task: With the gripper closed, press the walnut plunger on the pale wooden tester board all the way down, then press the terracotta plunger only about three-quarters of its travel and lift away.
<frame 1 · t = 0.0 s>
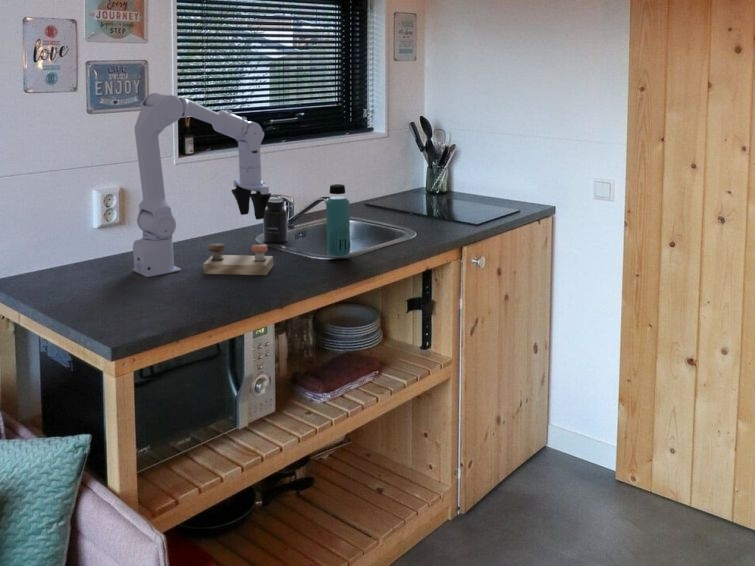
hand: (252, 216, 232), 10 cm above the worktop, fingers open, 7 cm apart
supplement bottle: (275, 241, 248), on the worktop
walnut plunger: (217, 252, 218), point 5 cm above the worktop, slide at 0.0 cm
beverage bottle: (338, 259, 229), on the worktop
terracotta plunger: (259, 252, 217), point 5 cm above the worktop, slide at 0.0 cm
tester board: (239, 269, 219), on the worktop
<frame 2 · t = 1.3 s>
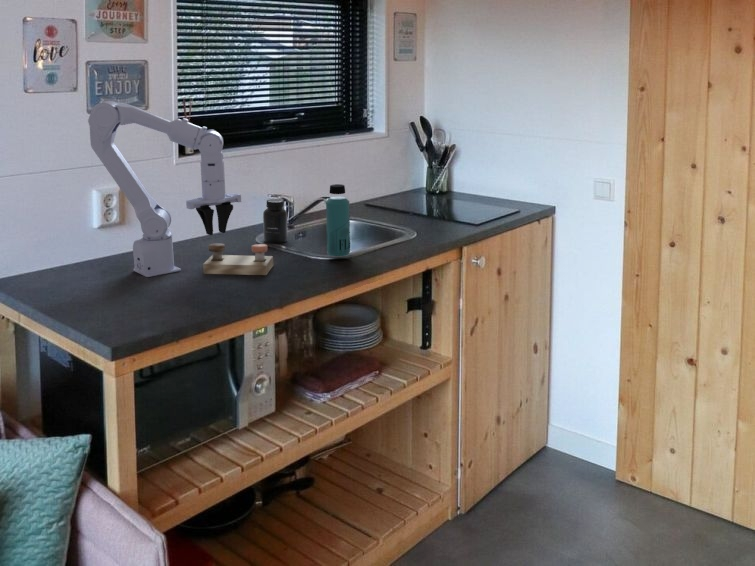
hand: (216, 233, 216), 9 cm above the worktop, fingers open, 3 cm apart
nothing on the worktop moved.
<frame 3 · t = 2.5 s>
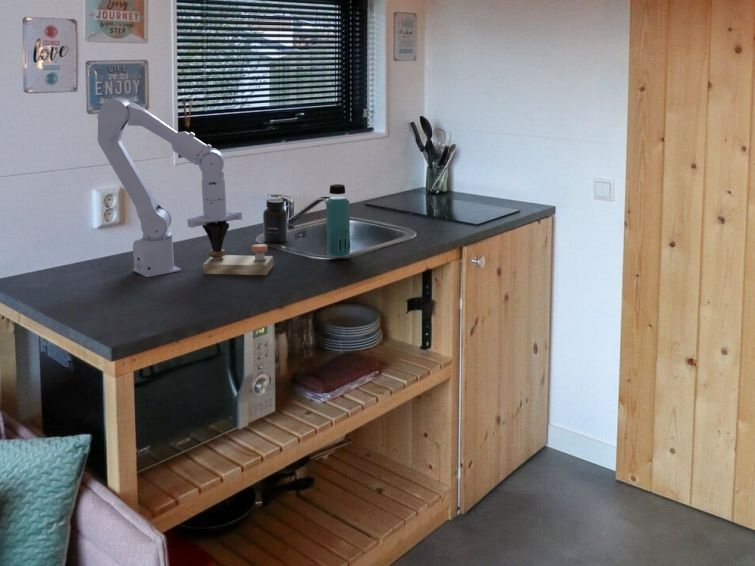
hand: (217, 250, 218), 5 cm above the worktop, fingers closed, pressing on walnut plunger
walnut plunger: (217, 257, 218), point 3 cm above the worktop, slide at 1.5 cm, touching gripper
everything else where it was.
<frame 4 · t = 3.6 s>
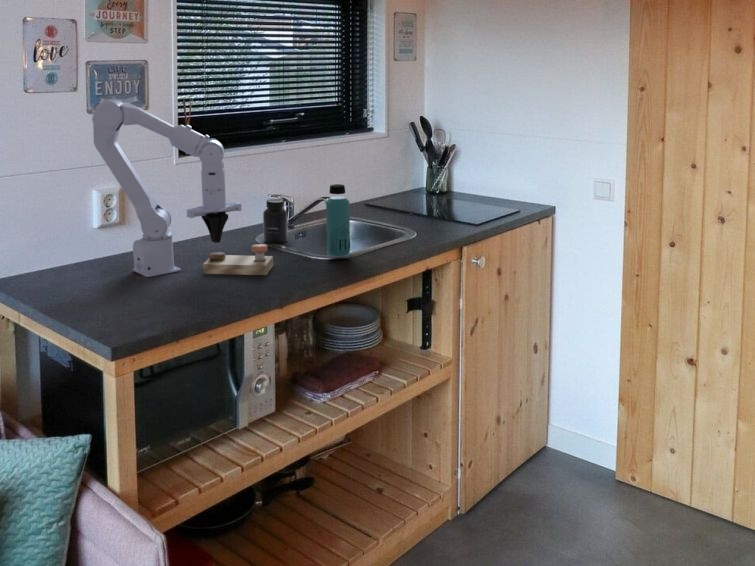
hand: (216, 241, 217), 7 cm above the worktop, fingers closed
walnut plunger: (217, 260, 219), point 2 cm above the worktop, slide at 2.3 cm
everything else where it was.
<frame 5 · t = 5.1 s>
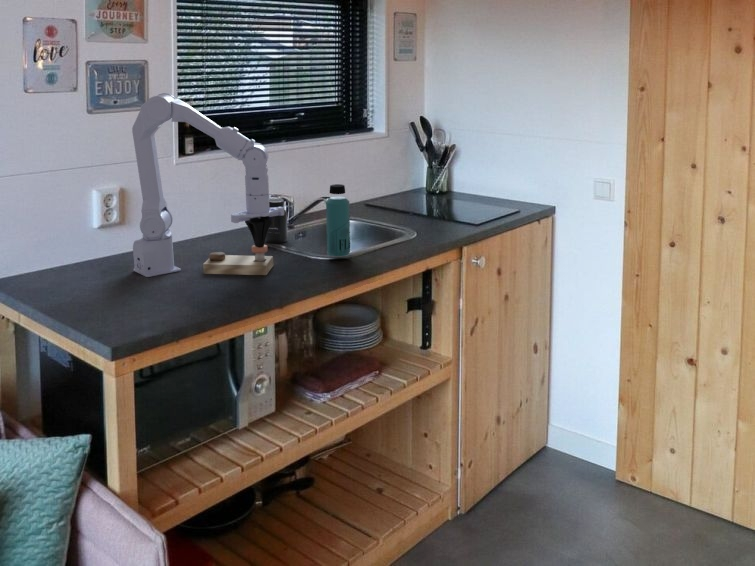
hand: (259, 246, 217), 6 cm above the worktop, fingers closed, pressing on terracotta plunger
terracotta plunger: (259, 253, 217), point 4 cm above the worktop, slide at 0.1 cm, touching gripper
everything else where it was.
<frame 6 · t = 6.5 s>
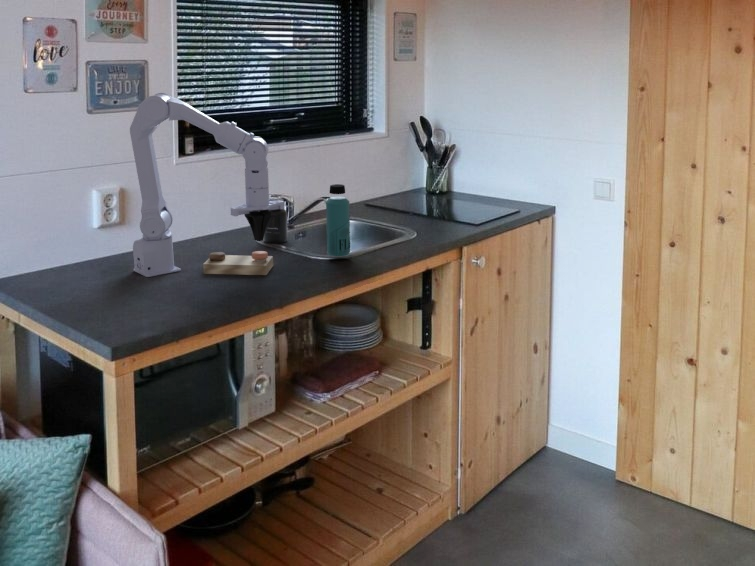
hand: (258, 240, 216), 8 cm above the worktop, fingers closed
terracotta plunger: (259, 259, 218), point 3 cm above the worktop, slide at 1.8 cm
everything else where it was.
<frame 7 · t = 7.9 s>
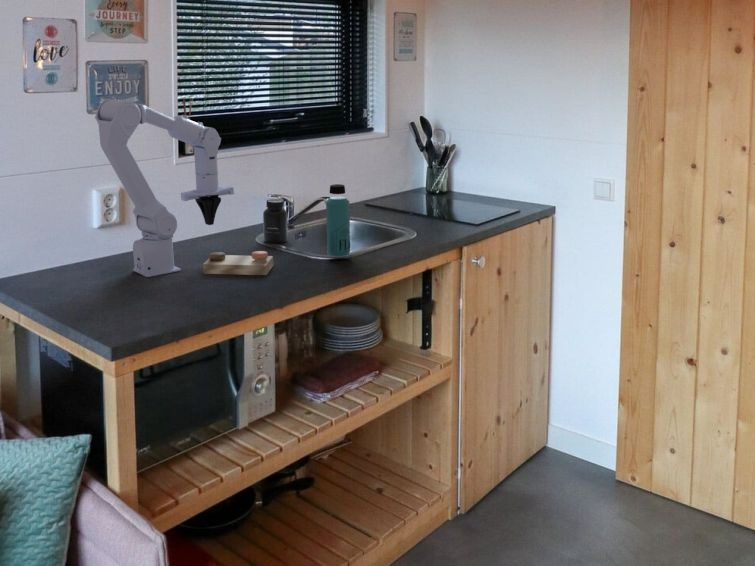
hand: (209, 224, 226), 9 cm above the worktop, fingers closed
nothing on the worktop moved.
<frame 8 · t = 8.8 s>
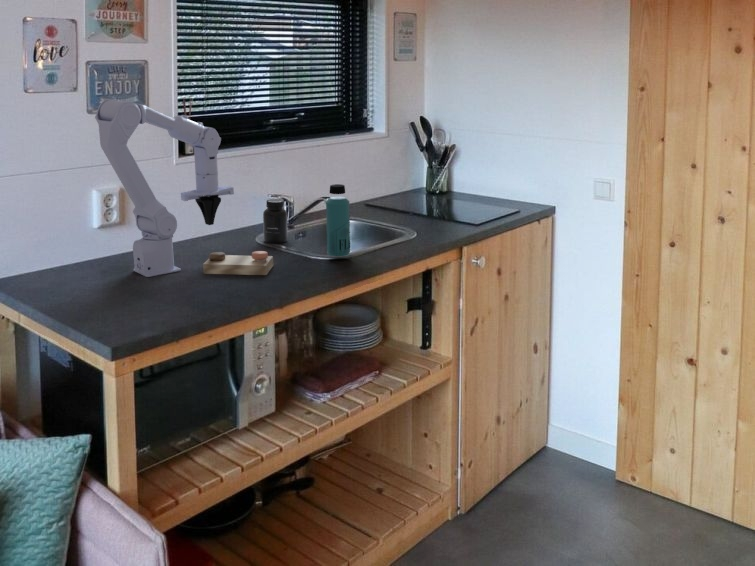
hand: (209, 224, 226), 9 cm above the worktop, fingers closed
nothing on the worktop moved.
at the end: walnut plunger slide at 2.3 cm; terracotta plunger slide at 1.8 cm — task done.
